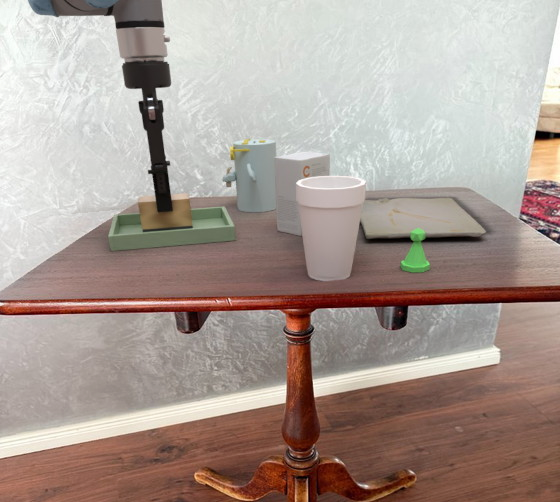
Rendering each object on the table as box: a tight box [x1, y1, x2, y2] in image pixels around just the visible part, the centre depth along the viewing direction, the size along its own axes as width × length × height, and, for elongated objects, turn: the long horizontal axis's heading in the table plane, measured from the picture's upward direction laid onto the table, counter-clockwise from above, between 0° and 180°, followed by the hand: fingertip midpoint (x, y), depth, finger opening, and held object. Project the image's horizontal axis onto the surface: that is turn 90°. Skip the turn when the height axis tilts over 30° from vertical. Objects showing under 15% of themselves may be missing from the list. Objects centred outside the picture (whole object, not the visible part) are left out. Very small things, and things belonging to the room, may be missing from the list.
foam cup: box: [296, 175, 367, 282], centre depth 77 cm, size 10×9×13 cm
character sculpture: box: [221, 138, 277, 213], centre depth 114 cm, size 20×12×13 cm, turn 179°
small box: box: [274, 151, 331, 237], centre depth 98 cm, size 8×6×13 cm
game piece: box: [400, 228, 431, 273], centre depth 80 cm, size 4×4×6 cm
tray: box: [107, 206, 237, 252], centre depth 101 cm, size 22×16×3 cm
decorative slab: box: [360, 197, 487, 240], centre depth 103 cm, size 27×21×2 cm
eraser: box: [137, 192, 193, 232], centre depth 99 cm, size 9×5×6 cm, turn 102°
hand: (164, 207), depth 99 cm, fingers closed on eraser, 5 cm apart
